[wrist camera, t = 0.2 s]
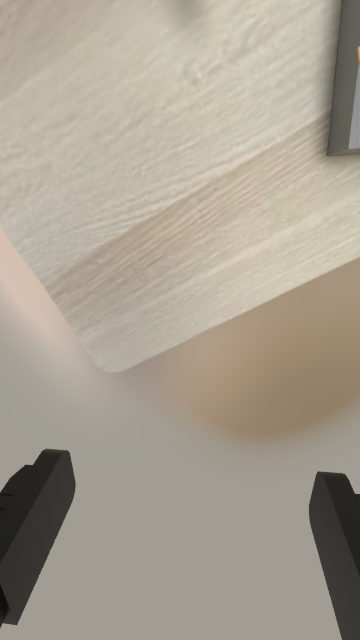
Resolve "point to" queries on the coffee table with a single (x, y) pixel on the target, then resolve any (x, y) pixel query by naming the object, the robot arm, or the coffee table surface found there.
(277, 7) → the coffee table surface
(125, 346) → the coffee table surface
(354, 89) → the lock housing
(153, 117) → the coffee table surface
